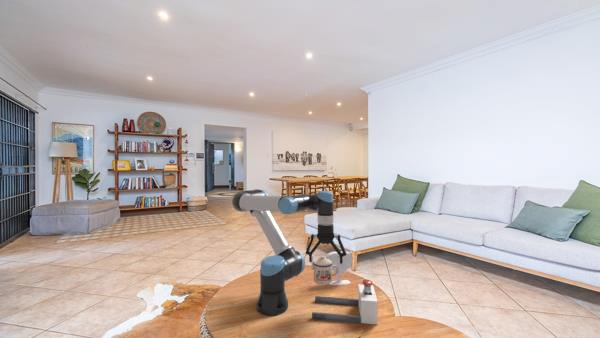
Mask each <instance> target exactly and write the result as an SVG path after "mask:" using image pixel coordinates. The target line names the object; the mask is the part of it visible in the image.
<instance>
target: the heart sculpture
mask: <svg viewBox="0 0 600 338" xmlns="http://www.w3.org/2000/svg"><path fill="white" fill-rule="evenodd" d="M340 251H341V253H343V252H342V250H340ZM325 258H326V259H329V260H331V261H332V265H336V266H337V267H338V253H337V252H336V250H335V251H330V252H328V253H327V254H326V255H325ZM353 259H354V257H353V254H351V253H350V252H349V251H346V256H343V257H342V264H340V271H338V273H337V277H336V278H337V279H336V280H332V282H331V283H329V284H328V285H329V286H336V285H337V286H338V285H350V284H351V281H350V280H348V279H343V280H342V274H344V273H346V272H347V271H348V269H350V268H351V266H352V264H353ZM336 271H337V268H336V267H332V272H334V273H336Z"/></svg>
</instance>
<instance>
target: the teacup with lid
mask: <svg viewBox="0 0 600 338" xmlns="http://www.w3.org/2000/svg"><path fill="white" fill-rule="evenodd" d="M313 264H314V269H313V281H314V283H315V284H318V285H321V286H322V285H330V284H329V283H331V282H332V281H333V277H334V276H336V275H337V273H338V267H337V266H336V265H332V261H331V260H329V259H326V255H321V256H320V258H316V259H314V262H313ZM332 267H336V268H337V271H336V272H334V273H333V270H332Z"/></svg>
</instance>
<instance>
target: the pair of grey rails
mask: <svg viewBox="0 0 600 338" xmlns="http://www.w3.org/2000/svg"><path fill="white" fill-rule="evenodd" d="M314 302H315V303H321V304H322V303H324V304H333V305H334V304H336V305H348V306H359V300H358V298H350V297H349V298H347V297H333V296H331V297H330V296H321V295H319V296H318V295H315V296H314ZM311 320H320V321H321V320H322V321H332V322H341V323H342V322H343V323H352V324H353V323H354V324H356V323H357V324H362V323H361V316H360V315H352V314H342V313H341V314H339V313H329V312H328V313H327V312H315V311H314V312H313V311H312V312H311Z"/></svg>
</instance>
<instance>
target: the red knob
mask: <svg viewBox="0 0 600 338" xmlns="http://www.w3.org/2000/svg"><path fill="white" fill-rule="evenodd" d="M362 285H364V295H371V285H373V281H372V280H370V279H363V280H362Z"/></svg>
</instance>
